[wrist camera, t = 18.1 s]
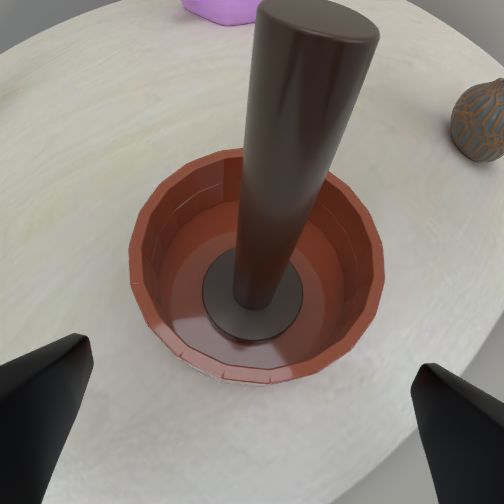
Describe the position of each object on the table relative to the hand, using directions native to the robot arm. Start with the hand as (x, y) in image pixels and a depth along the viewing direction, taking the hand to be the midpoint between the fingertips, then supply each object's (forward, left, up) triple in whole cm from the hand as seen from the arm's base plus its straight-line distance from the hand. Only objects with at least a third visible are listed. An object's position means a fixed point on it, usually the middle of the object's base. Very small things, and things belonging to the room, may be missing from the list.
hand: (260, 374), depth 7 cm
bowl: (+2, -5, -8) cm, 10 cm away
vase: (-12, -27, -9) cm, 31 cm away
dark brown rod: (+2, -4, -8) cm, 9 cm away
